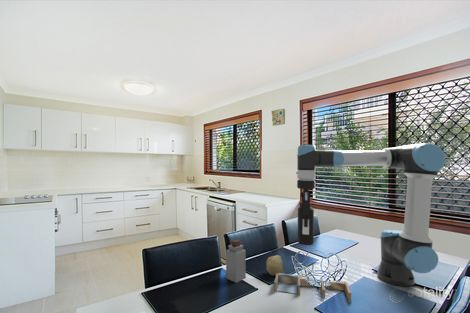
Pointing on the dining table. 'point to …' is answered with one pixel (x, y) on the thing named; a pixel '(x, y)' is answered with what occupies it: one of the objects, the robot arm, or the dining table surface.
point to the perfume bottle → (235, 262)
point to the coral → (274, 265)
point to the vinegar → (305, 238)
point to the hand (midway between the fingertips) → (305, 232)
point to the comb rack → (291, 281)
